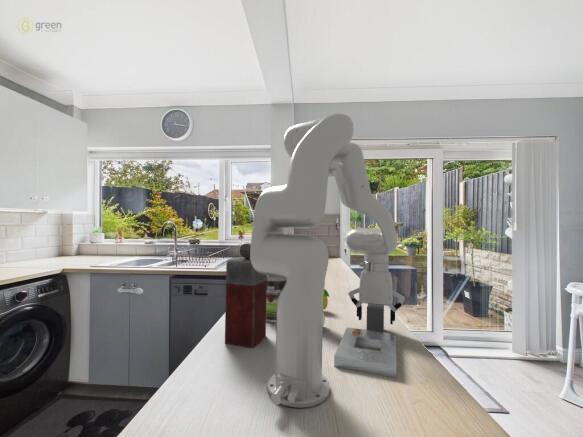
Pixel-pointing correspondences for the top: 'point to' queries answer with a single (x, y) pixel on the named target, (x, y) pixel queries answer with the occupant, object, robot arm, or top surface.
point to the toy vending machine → (245, 301)
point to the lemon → (325, 299)
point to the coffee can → (273, 297)
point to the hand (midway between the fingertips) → (375, 320)
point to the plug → (375, 317)
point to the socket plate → (367, 352)
